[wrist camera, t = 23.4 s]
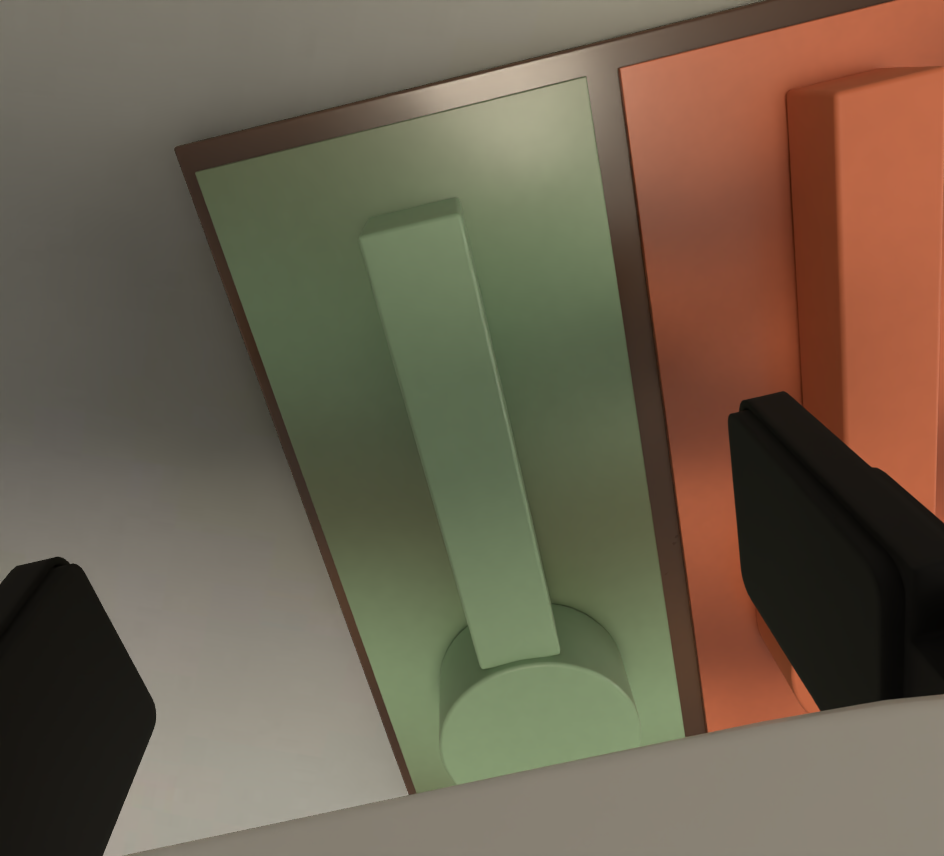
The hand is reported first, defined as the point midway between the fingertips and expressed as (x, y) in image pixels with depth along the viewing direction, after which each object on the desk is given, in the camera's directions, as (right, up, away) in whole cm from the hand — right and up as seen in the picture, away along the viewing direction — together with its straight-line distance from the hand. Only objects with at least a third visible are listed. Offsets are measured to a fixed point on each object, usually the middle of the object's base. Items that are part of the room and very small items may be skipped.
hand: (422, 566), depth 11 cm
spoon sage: (+1, 0, +7) cm, 7 cm away
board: (+5, +1, +7) cm, 9 cm away
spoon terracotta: (+9, +2, +6) cm, 11 cm away
